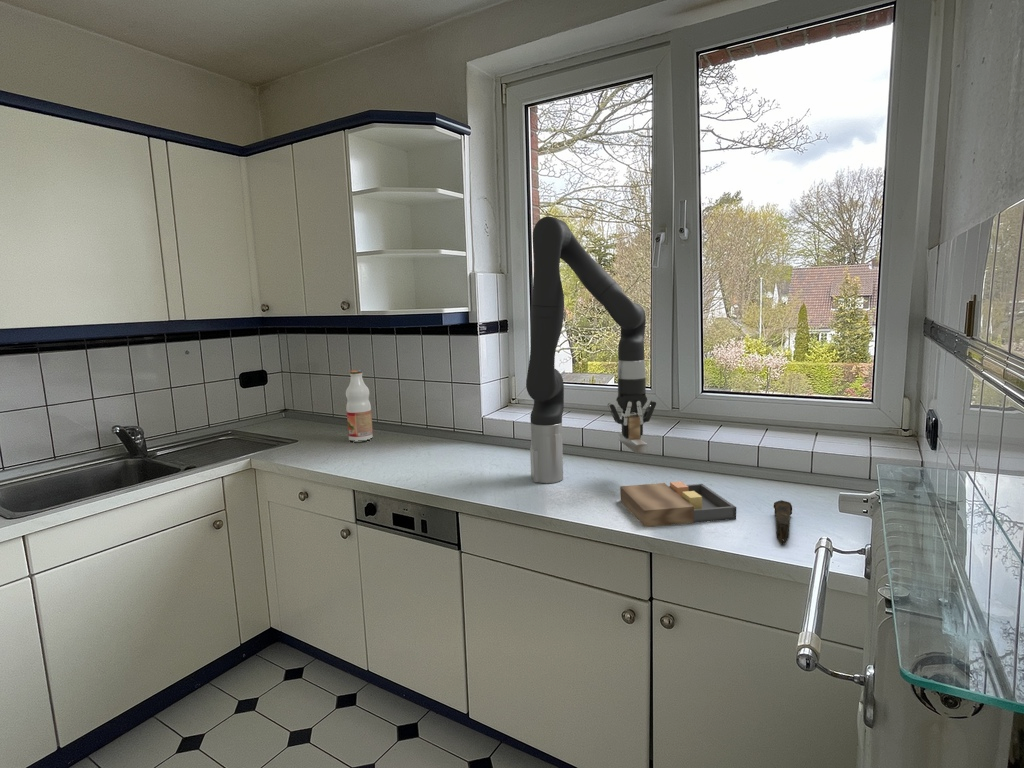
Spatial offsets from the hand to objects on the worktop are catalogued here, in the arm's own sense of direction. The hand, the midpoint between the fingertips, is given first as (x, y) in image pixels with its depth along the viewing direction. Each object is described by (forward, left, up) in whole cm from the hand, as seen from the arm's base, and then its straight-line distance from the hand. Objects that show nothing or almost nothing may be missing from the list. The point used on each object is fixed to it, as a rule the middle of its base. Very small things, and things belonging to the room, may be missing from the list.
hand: (632, 437), depth 162 cm
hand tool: (+23, -37, -15) cm, 46 cm away
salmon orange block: (+7, -16, -11) cm, 21 cm away
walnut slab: (-1, -20, -14) cm, 24 cm away
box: (+10, -20, -14) cm, 27 cm away
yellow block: (+7, -24, -11) cm, 27 cm away
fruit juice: (-85, +79, -14) cm, 117 cm away
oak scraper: (0, 0, -3) cm, 3 cm away
